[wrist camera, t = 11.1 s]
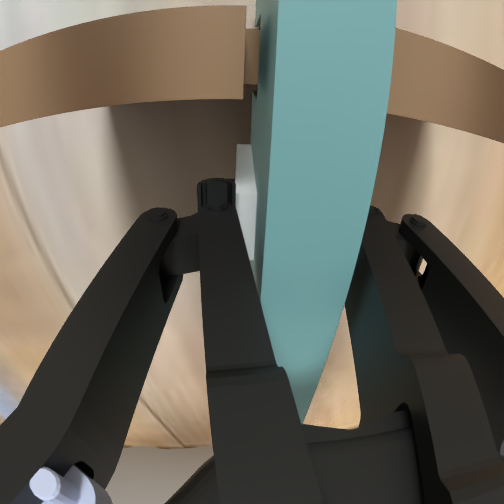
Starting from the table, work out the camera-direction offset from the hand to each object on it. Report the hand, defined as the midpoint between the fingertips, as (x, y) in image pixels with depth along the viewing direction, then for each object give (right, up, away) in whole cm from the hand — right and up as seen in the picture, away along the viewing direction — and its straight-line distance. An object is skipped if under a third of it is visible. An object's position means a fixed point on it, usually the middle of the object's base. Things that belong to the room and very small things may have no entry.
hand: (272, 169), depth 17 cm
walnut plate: (0, +6, -1) cm, 7 cm away
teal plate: (0, +1, +1) cm, 1 cm away
